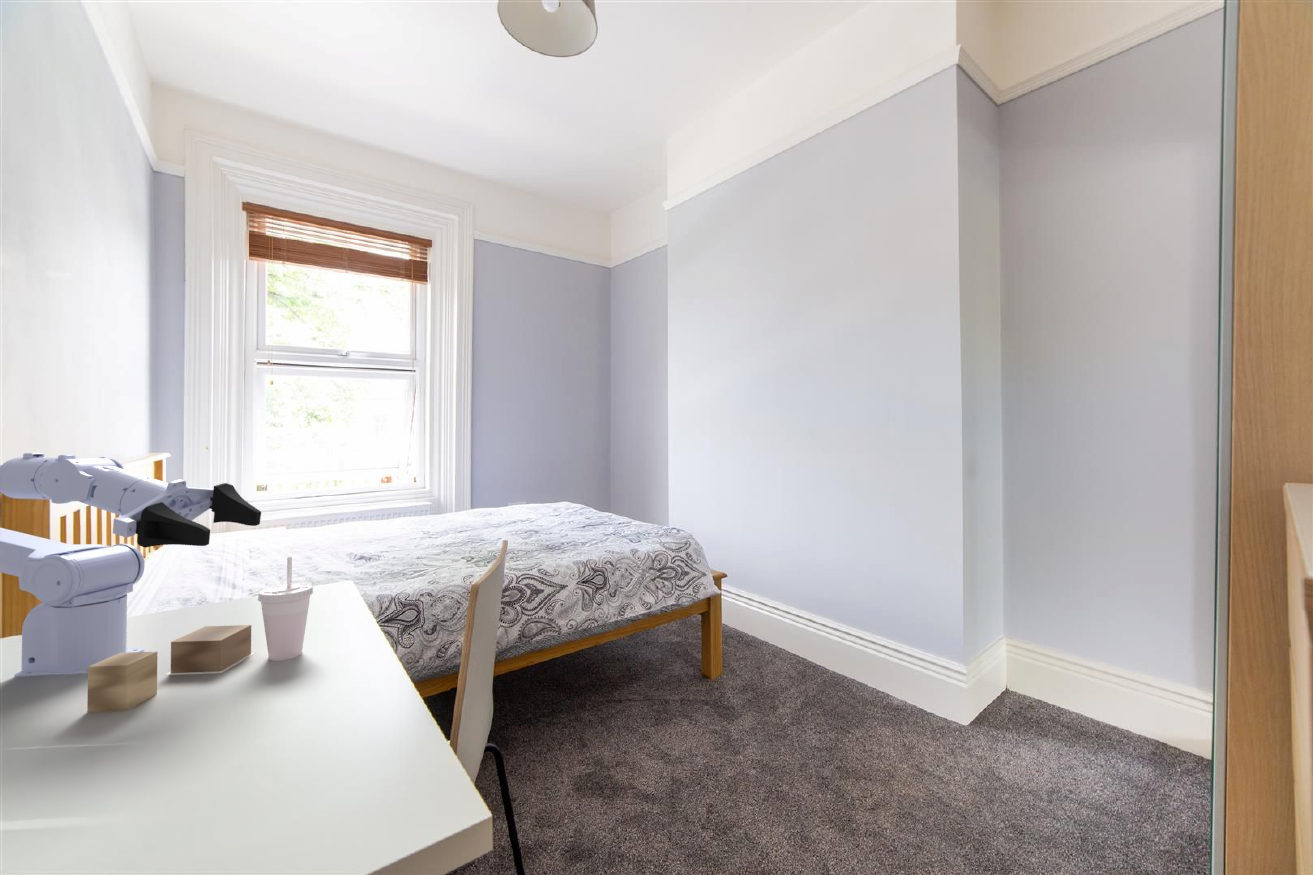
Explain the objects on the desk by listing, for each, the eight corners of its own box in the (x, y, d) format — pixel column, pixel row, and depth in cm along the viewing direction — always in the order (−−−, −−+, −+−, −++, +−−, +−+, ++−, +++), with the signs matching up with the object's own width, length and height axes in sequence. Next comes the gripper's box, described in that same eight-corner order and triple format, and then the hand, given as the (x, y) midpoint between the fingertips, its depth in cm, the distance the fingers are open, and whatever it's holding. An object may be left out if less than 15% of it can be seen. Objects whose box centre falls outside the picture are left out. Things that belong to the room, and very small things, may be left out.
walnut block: (170, 673, 69) (170, 641, 69) (205, 655, 75) (205, 626, 75) (220, 671, 70) (220, 640, 70) (251, 653, 76) (251, 624, 76)
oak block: (87, 712, 59) (88, 666, 59) (120, 695, 63) (120, 652, 63) (126, 710, 60) (127, 665, 60) (156, 694, 64) (157, 651, 64)
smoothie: (323, 650, 78) (324, 553, 78) (289, 668, 72) (290, 563, 72) (282, 649, 79) (283, 552, 79) (244, 666, 72) (245, 562, 73)
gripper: (82, 485, 65) (183, 517, 64) (197, 459, 79) (281, 485, 78) (79, 538, 66) (178, 570, 65) (192, 503, 81) (275, 529, 80)
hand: (234, 527), depth 72 cm, fingers open, 7 cm apart
